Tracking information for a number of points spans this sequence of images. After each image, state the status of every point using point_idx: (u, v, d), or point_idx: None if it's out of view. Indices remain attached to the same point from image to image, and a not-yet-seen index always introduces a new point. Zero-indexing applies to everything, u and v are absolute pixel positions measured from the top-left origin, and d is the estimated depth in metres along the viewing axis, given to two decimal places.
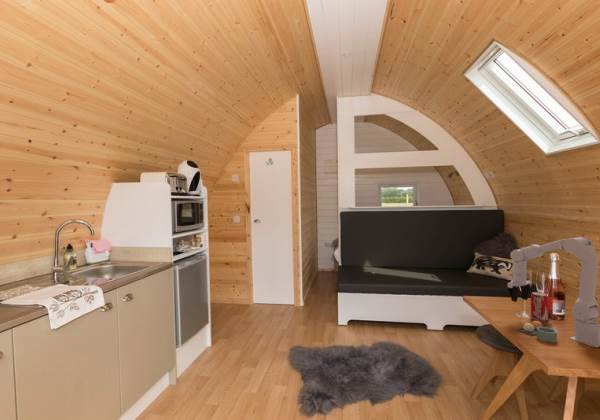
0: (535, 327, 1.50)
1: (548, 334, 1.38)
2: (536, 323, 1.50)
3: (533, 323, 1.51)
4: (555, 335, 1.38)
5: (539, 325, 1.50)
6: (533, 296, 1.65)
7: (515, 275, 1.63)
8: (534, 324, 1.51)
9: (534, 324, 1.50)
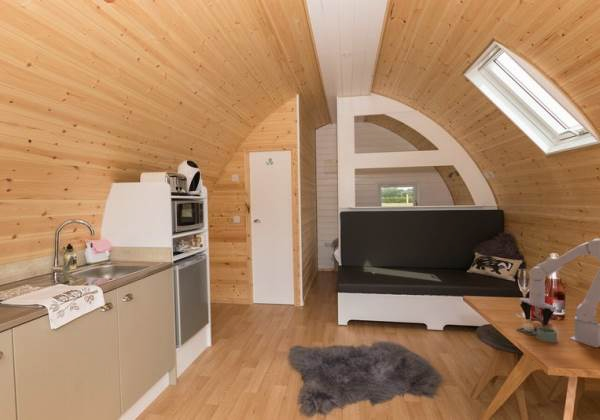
0: (535, 327, 1.50)
1: (548, 334, 1.38)
2: (536, 323, 1.50)
3: (533, 323, 1.51)
4: (555, 335, 1.38)
5: (539, 325, 1.50)
6: None
7: None
8: (534, 324, 1.51)
9: (534, 324, 1.50)
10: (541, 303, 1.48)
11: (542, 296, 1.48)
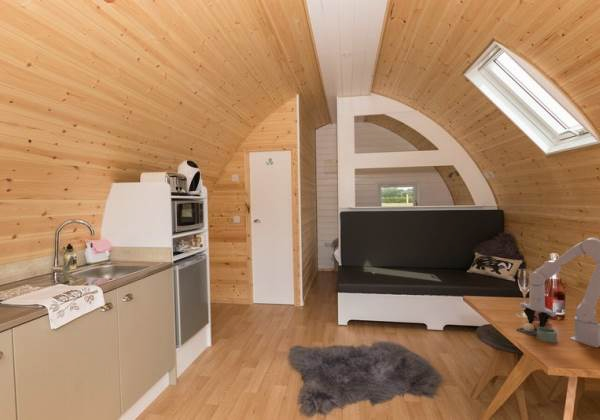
0: (535, 327, 1.50)
1: (548, 334, 1.38)
2: (536, 323, 1.50)
3: (533, 323, 1.51)
4: (555, 335, 1.38)
5: (539, 325, 1.50)
6: None
7: None
8: (534, 324, 1.51)
9: (534, 324, 1.50)
10: (541, 308, 1.48)
11: (542, 301, 1.48)
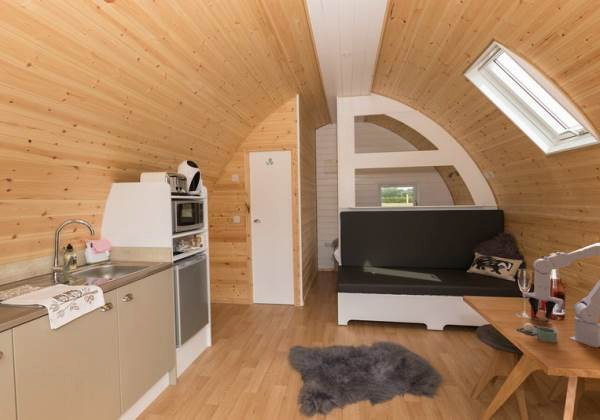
0: (541, 317, 1.45)
1: (548, 334, 1.38)
2: (542, 313, 1.45)
3: (539, 313, 1.46)
4: (555, 335, 1.38)
5: (545, 315, 1.44)
6: None
7: None
8: (540, 313, 1.45)
9: (541, 314, 1.45)
10: (548, 297, 1.43)
11: (548, 289, 1.43)
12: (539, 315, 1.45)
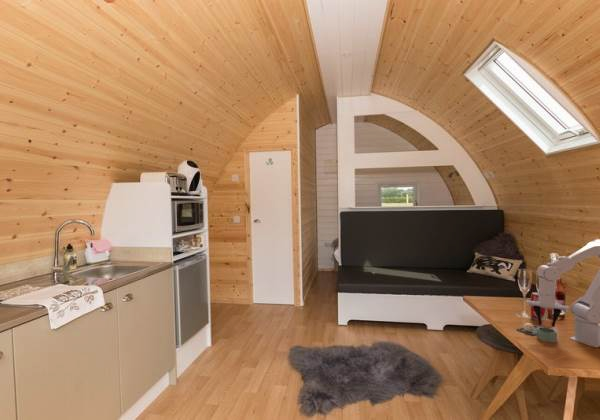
0: (548, 326, 1.40)
1: (548, 334, 1.38)
2: (548, 321, 1.40)
3: (545, 322, 1.40)
4: (555, 335, 1.38)
5: (551, 323, 1.40)
6: (533, 296, 1.65)
7: None
8: (547, 322, 1.40)
9: (547, 323, 1.40)
10: (554, 304, 1.38)
11: None
12: (546, 324, 1.40)
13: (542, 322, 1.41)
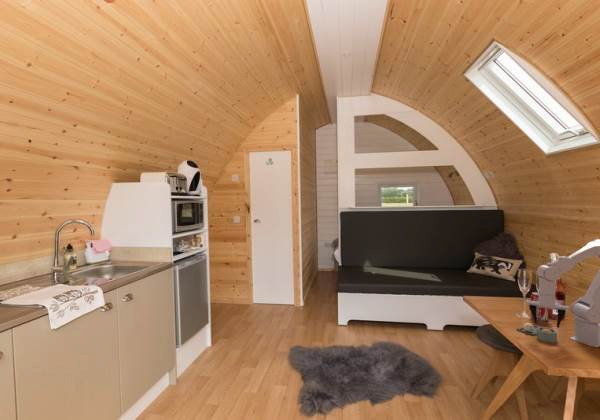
0: None
1: (548, 334, 1.38)
2: None
3: None
4: (555, 335, 1.38)
5: None
6: (533, 296, 1.65)
7: None
8: None
9: None
10: (554, 304, 1.38)
11: None
12: None
13: None
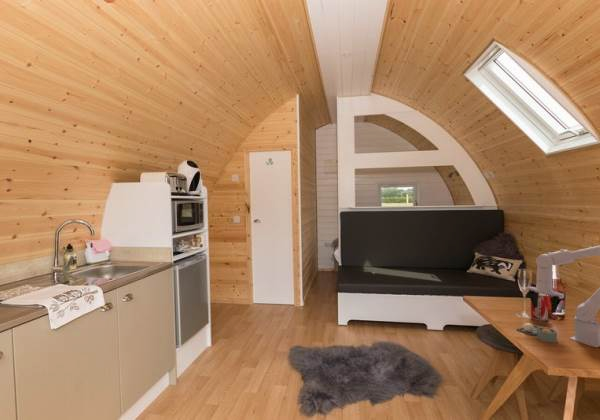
0: None
1: (548, 334, 1.38)
2: None
3: None
4: (555, 335, 1.38)
5: None
6: None
7: None
8: None
9: None
10: (549, 291, 1.47)
11: (550, 284, 1.47)
12: None
13: None
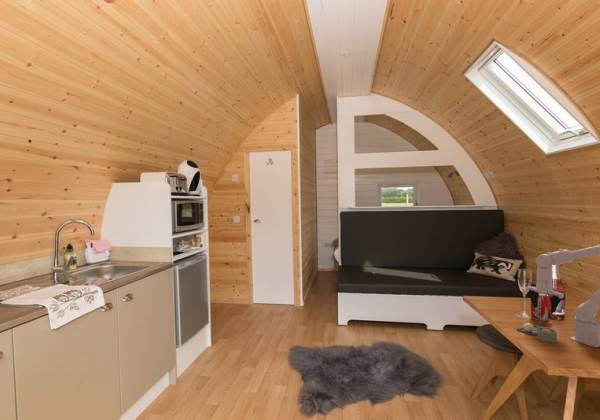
0: None
1: (548, 334, 1.38)
2: None
3: None
4: (555, 335, 1.38)
5: None
6: None
7: None
8: None
9: None
10: (549, 290, 1.47)
11: (550, 283, 1.47)
12: None
13: None
